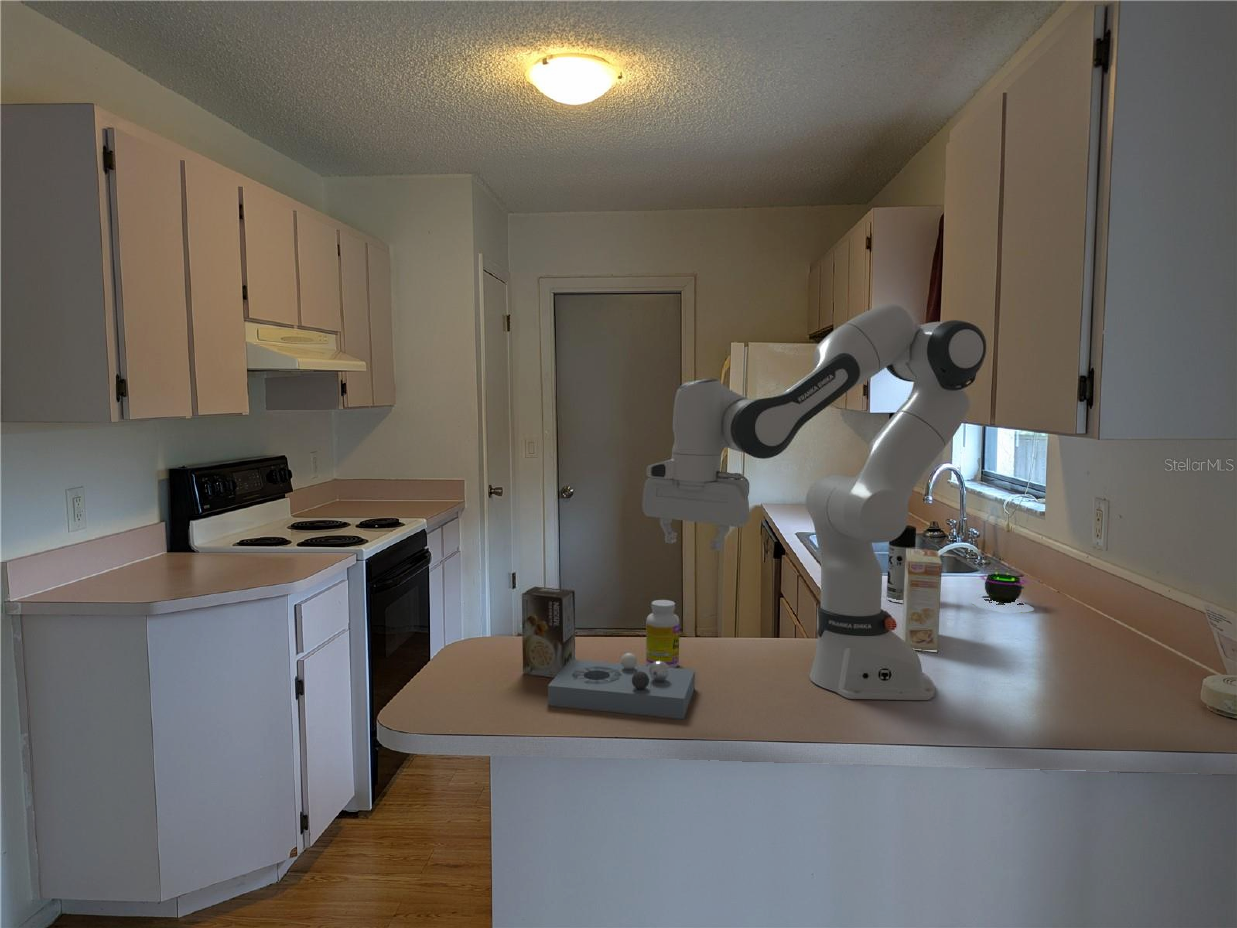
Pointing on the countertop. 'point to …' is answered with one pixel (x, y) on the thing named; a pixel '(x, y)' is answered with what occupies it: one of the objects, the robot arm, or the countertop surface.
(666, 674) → the steel ball
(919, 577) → the coffeecake box
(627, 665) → the cream ball
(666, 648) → the supplement bottle
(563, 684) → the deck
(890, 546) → the spray can
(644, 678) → the black ball
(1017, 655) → the countertop surface
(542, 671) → the coffee box
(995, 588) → the toy cauldron
